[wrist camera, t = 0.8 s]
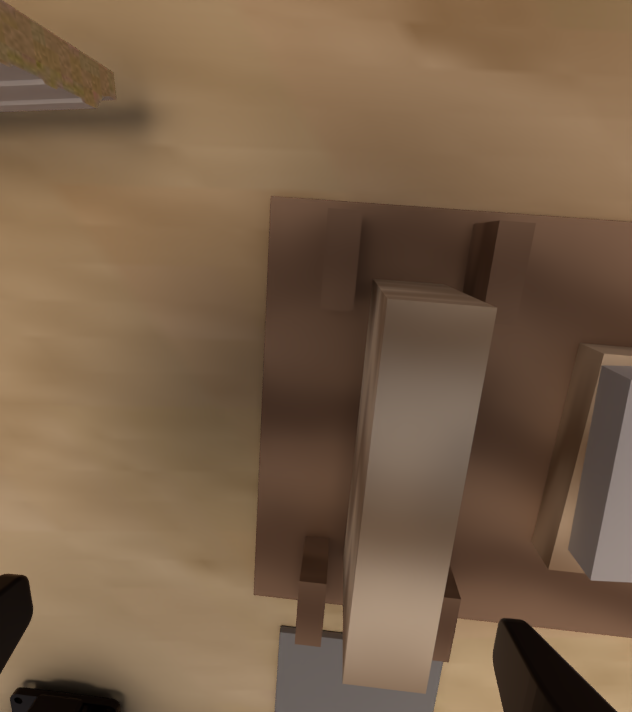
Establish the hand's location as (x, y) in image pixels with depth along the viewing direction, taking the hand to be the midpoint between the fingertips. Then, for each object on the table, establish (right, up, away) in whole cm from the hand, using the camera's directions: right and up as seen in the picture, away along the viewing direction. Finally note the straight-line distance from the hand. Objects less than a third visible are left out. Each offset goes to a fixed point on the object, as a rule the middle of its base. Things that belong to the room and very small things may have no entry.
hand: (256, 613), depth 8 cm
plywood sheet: (+4, +1, +12) cm, 13 cm away
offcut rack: (+9, +1, +12) cm, 15 cm away
